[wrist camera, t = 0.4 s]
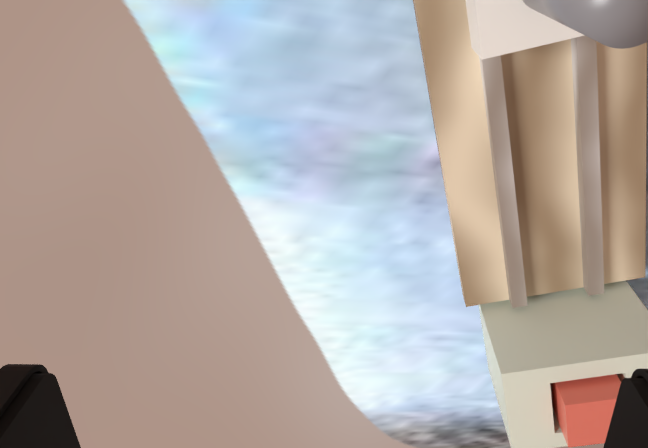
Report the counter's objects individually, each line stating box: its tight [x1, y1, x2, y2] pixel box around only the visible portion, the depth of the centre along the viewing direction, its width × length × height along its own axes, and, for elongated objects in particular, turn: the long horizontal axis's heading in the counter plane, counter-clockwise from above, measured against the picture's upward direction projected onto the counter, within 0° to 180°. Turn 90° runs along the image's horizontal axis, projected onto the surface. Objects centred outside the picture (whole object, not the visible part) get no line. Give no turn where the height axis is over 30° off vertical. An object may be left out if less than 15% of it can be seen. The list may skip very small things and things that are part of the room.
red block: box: [550, 374, 621, 447], centre depth 36 cm, size 4×4×4 cm
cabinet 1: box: [479, 280, 648, 448], centre depth 39 cm, size 10×7×8 cm
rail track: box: [413, 0, 647, 308], centre depth 34 cm, size 12×25×2 cm, turn 14°
